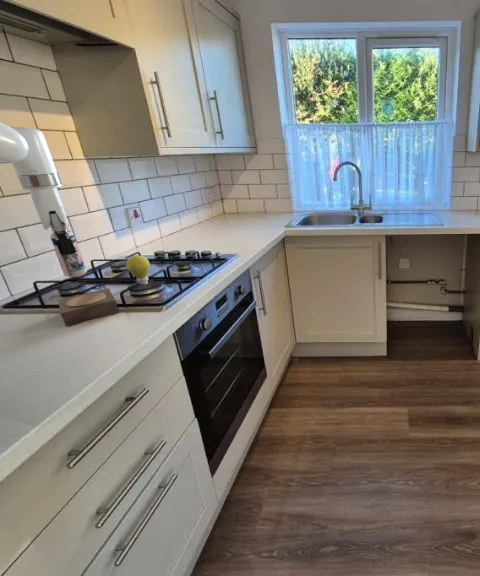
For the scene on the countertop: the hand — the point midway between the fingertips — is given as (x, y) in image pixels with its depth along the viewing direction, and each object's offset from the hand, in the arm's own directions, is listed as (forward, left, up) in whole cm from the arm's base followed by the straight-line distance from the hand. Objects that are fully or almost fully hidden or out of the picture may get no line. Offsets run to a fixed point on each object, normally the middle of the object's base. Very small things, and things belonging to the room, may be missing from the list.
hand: (67, 251), depth 97 cm
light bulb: (+16, +15, -19) cm, 29 cm away
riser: (0, 0, -18) cm, 18 cm away
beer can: (0, 0, -7) cm, 7 cm away
